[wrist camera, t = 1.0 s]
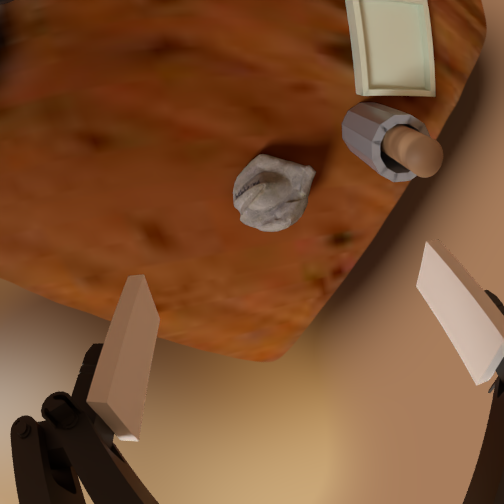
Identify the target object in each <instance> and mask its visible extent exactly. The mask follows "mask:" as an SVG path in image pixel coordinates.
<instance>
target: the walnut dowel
mask: <svg viewBox="0 0 504 504" xmlns="http://www.w3.org/2000/svg"><path fill="white" fill-rule="evenodd" d="M380 150H381V151H382V152H384V153H385V154H387V155H388V156H390V157H391V158H393V159H394V160H396V161H397V162H399V163H400V164H402V165H403V166H404V167H406V168H407V169H409V170H410V171H412V172H413V173H414V174H416V175H417V176H419V177H423V178H425V177H430V176H432V175H434V174H435V173H436V172H437V171H438V170H439V168H440V166H441V164H442V161H443V151H442V148H441V146H440V144H439V143H438V142H437V141H436V140H435V139H433V138H430V137H428V136H426V135H424V134H422V133H420V132H418V131H415V130H413V129H411V128H409V127H406V126H404V125H402V124H396V125H395V126H393V127H392V128H390V129H389V130H388V131H386V133H385V135H384V137H383V139H382V141H381V143H380Z"/></svg>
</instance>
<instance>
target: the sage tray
mask: <svg viewBox="0 0 504 504" xmlns="http://www.w3.org/2000/svg"><path fill="white" fill-rule="evenodd" d="M345 2H346V9H347V15H348V22H349V30H350V38H351V46H352V55H353V64H354V75H355V86H356V94H358V95H362V96H428V97H436V92H435V68H434V54H433V42H432V32H431V24H430V16H429V9H428V2H427V0H345Z"/></svg>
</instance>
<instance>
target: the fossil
mask: <svg viewBox="0 0 504 504" xmlns="http://www.w3.org/2000/svg"><path fill="white" fill-rule="evenodd" d="M315 174H316V171H314V169H313V168H312V167H311V166H310V165H308V166H304V165H301V164H298V163H295V162H292V161H287V160H284V159H280V158H277V157H273V156H270V155H266V154H259V155H258V156H257V157H256V158H254V159H253V160H252V161H251V162H250V163H249V164H248V165H247V166H246V167H245V168H244V170H243V171H242V172H241V173H240V174H239V175H238V177H237V179H236V182H235V184H234V189H233V200H234V207H235V208H237V209H238V210H239V212H240V214H241V216H240V221H242V223H244V224H246V225H249V226H251V227H254V228H257V229H259V230H261V231H269V232H275V231H280V230H282V229H286V228H288V227H289V226H290V225H293V224H294V223H295V222H297V221H298V219H299V218H300V217H301V216H302V215H303V213H304V211H305V208H306V206H307V203H308V196H309V192H310V187H311V184H312V181H313V178H314V176H315Z"/></svg>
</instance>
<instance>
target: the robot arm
mask: <svg viewBox="0 0 504 504" xmlns="http://www.w3.org/2000/svg"><path fill="white" fill-rule="evenodd" d="M11 1H13V0H0V4H5V3H8V2H11ZM416 287H417V288H418V290H419V291H420V293H421V294H422V296H423V297H424V299H425V300H426V302H427V303H428V305H429V307H430V308H431V310H432V311H433V313H434V314H435V316H436V317H437V319H438V320H439V322H440V324H441V325H442V327H443V329H444V330H445V332H446V333H447V335H448V337H449V338H450V340H451V342H452V343H453V345H454V347H455V348H456V350H457V352H458V353H459V355H460V357H461V359H462V360H463V362H464V364H465V366H466V367H467V369H468V371H469V373H470V375H471V376H472V378H473V380H474V382H475V383H476V385H479V384H481V383H483V382H485V381H488V380H490V378H491V377H492V375H493V374H494V372H495V371H496V372H497V374H498V377H497V379H496V380H495V382H494V383H493V385H492V386H491V388H490V389H489V392H488V393H490V392H491V391H492V390H493V389H494V393H493V400H492V405H491V410H490V415H489V420H488V424H487V428H486V432H485V436H484V440H483V444H482V448H481V451H480V455H479V458H478V461H477V464H476V468H475V471H474V474H473V477H472V480H471V483H470V486H469V488H468V491H467V494H466V497H465V499H464V502H463V504H504V306H503V304H502V302H501V301H500V300H499V299H498V297H497V296H495V295H494V294H493V293H491V292H490V291H488V290H485V291H484V290H483V289H482V288H481V287H480V285H479V284H478V283H477V282H476V281H475V279H474V278H473V277H472V276H471V275H470V274H469V272H468V271H467V270H466V269H465V268H464V267H463V265H462V264H461V263H460V262H459V261H458V260H457V259H456V258H455V257H454V256H453V254H452V253H451V252H450V251H449V250H448V249H447V248H446V247H445V246H444V245H443V244H442V242H441V241H440V240H439V239H437V240H430V241H426V244H425V250H424V254H423V259H422V264H421V268H420V272H419V276H418V281H417V285H416ZM159 322H160V318H159V315H158V313H157V310H156V307H155V304H154V302H153V299H152V296H151V293H150V291H149V288H148V285H147V282H146V279H145V276H144V274H143V275H134V276H128V278H127V281H126V284H125V286H124V289H123V291H122V294H121V297H120V299H119V302H118V305H117V307H116V310H115V313H114V316H113V319H112V321H111V324H110V327H109V330H108V333H107V336H106V339H105V342H104V344H93V345H92V346H91V347H90V349H89V350H88V351H87V352H86V354H85V357H84V360H83V363H82V366H81V369H80V372H79V373H80V374H79V375H78V378H77V381H76V384H75V387H74V390H73V393H72V396H70V395H69V394H68V393H65V392H55V393H53V394H51V395H50V396H49V397H47V398H46V400H45V401H44V403H43V405H42V409H41V413H42V417H43V418H44V419H45V420H46V421H42V422H36V421H35V420H34V419H33V418H32V417H30V416H22V417H20V418H18V419H17V420H16V421H15V422H14V423H13V425H12V427H11V447H12V457H13V466H14V474H15V481H16V487H17V493H18V499H19V504H86V503H85V499H84V496H83V493H82V489H81V486H80V482H79V479H78V477H79V478H80V480H81V482H82V484H83V485H84V487H85V489H86V491H87V492H88V494H89V496H90V497H91V499H92V501H93V502H94V504H159V503H158V502H157V501H156V500H155V498H154V497H153V496H152V495H151V493H150V492H149V491H148V490H147V488H146V487H145V486H144V484H143V483H142V482H141V481H140V479H139V478H138V476H136V474H135V472H134V471H133V470H132V468H131V467H130V466H129V464H128V463H127V461H126V460H125V459H124V457H123V456H122V454H121V453H120V451H119V450H118V448H117V447H116V445H115V444H114V443H113V437H114V434H115V435H116V436H117V437H118V438H119V439H120V440H127V441H139V437H140V429H141V423H142V416H143V409H144V403H145V397H146V391H147V385H148V379H149V374H150V368H151V363H152V357H153V352H154V347H155V342H156V337H157V332H158V327H159Z"/></svg>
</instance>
